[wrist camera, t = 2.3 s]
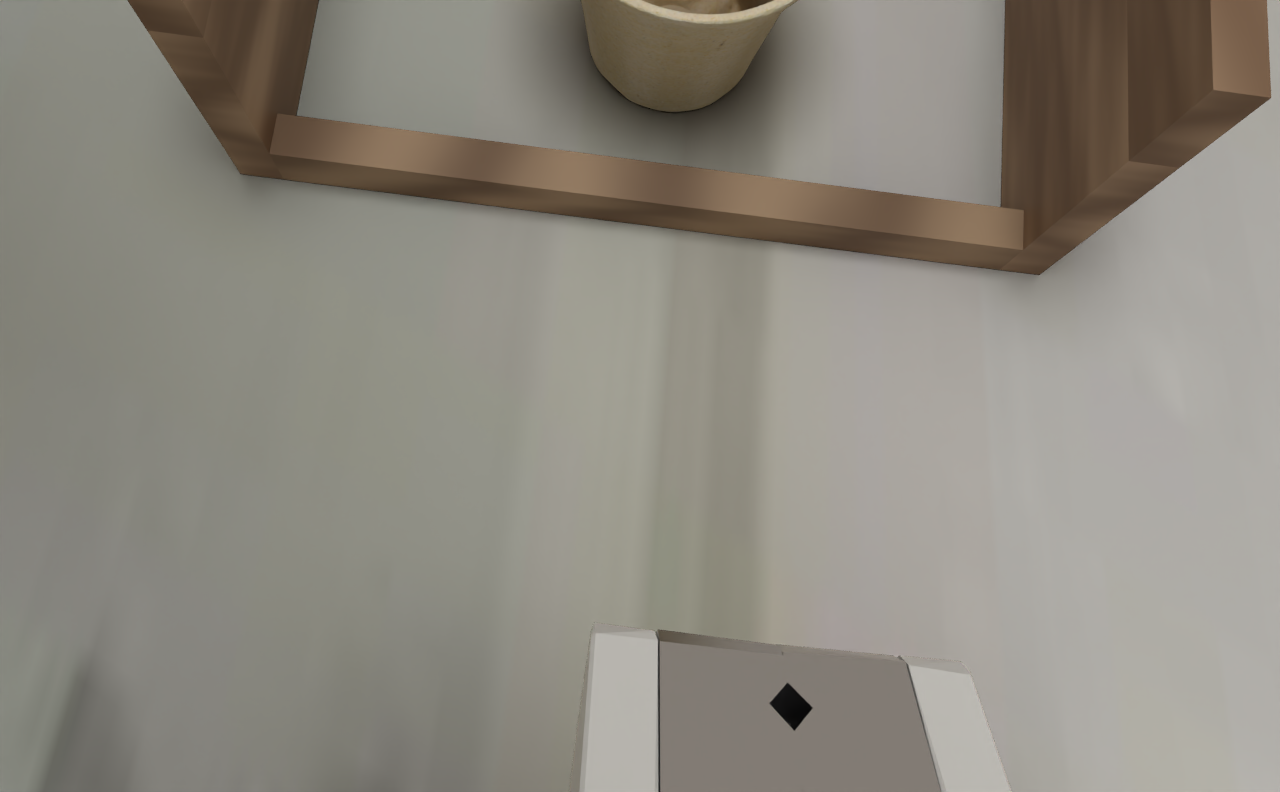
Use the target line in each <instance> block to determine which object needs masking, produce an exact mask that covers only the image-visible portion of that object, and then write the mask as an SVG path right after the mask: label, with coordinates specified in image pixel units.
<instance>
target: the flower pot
mask: <svg viewBox="0 0 1280 792" xmlns="http://www.w3.org/2000/svg"><path fill="white" fill-rule="evenodd" d="M796 1H798V0H581V3H582V8H583V13H584V18H585V24H586V30H587V35H588V43H589V48H590V52H591V55H592V58H593V60H594V63H595V65H596V67H597V68H598V70H599V71H600V73H601V74H602V75H603V76H604V77H605V78H606V79H607V80H608V81H609V82H610V83H611V84H612V85H613V86H614V87H615V88H616V89H617V90H618V91H619V92H620V93H622V94H623V95H624V96H625V97H626V98H627V99H629V100H630V101H632V102H634V103H636V104H639V105H642V106H645V107H648V108H651V109H655V110H660V111H667V112H680V111H689V110H694V109H699V108H702V107H705V106H707V105H710V104H712V103H713V102H715V101H716V100H718V99H719V98H720V97H722V96H723V95H725V94H726V93H727V92H729V91H730V90H731V89H732V88H733V87H734V86H735V85H736V84H737V83H738V82H739V81H740V80H741V78H742V77H743V75H744V74H745V72H746V70H747V68H748V67H749V65H750V63H751V61H752V60H753V58H754V56H755V55H756V53H757V51H758V50H759V48H760V46H761V45H762V43H763V42H764V40H765V38H766V37H767V35H768V33H769V32H770V30H771V28H772V27H773V25H774V24H775V22H776V20H777V19H778V17H779V15H780V14H781V12H782V11H784V10H785V9H786V8H787V7H789V6H790V5H792V4H793V3H795V2H796Z"/></svg>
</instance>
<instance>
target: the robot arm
mask: <svg viewBox="0 0 1280 792" xmlns="http://www.w3.org/2000/svg"><path fill="white" fill-rule="evenodd" d="M569 792H1012V790H1011V787H1010V784H1009V782H1008V779H1007V776H1006V773H1005V770H1004V767H1003V764H1002V761H1001V759H1000V756H999V753H998V750H997V747H996V744H995V741H994V738H993V736H992V733H991V730H990V727H989V724H988V721H987V718H986V715H985V713H984V710H983V707H982V704H981V701H980V698H979V695H978V692H977V690H976V687H975V684H974V681H973V678H972V675H971V672H970V671H969V669H968V668H967V667H966V666H965V665H964V664H963V663H962V662H961V661H952V660H942V659H931V658H920V657H909V656H899V657H895V656H893V655H882V654H872V653H862V652H851V651H841V650H831V649H820V648H810V647H799V646H789V645H779V644H776V645H774V644H766V643H758V642H751V641H743V640H735V639H728V638H720V637H712V636H704V635H697V634H689V633H681V632H674V631H666V630H657V632H656V634H655V631H653V630H646V629H639V628H631V627H624V626H617V625H610V624H602V623H595V622H594V624H593V627H592V630H591V634H590V641H589V648H588V654H587V661H586V668H585V675H584V682H583V689H582V696H581V703H580V710H579V716H578V724H577V732H576V739H575V747H574V755H573V763H572V771H571V778H570V788H569Z"/></svg>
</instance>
